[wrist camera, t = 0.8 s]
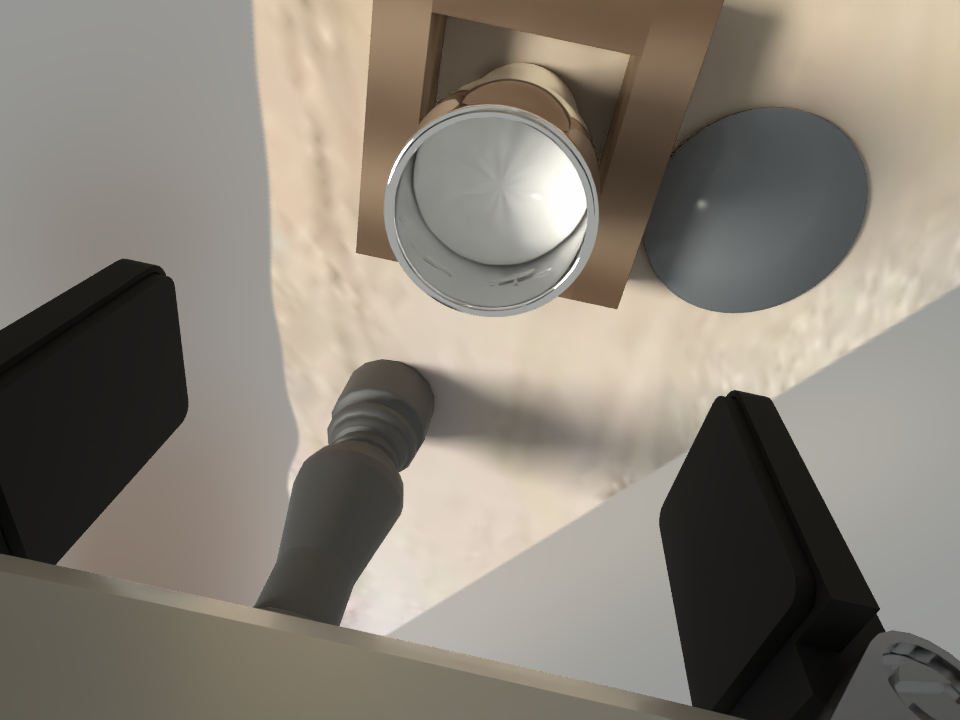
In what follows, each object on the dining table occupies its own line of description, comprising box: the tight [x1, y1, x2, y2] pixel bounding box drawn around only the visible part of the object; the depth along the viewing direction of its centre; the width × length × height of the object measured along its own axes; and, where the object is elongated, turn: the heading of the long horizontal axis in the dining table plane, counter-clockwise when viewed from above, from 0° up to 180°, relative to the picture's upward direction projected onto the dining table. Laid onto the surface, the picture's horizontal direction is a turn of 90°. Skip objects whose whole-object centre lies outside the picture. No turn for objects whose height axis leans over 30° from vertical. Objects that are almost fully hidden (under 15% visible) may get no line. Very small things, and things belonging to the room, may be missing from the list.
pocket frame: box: [356, 0, 724, 309], centre depth 29 cm, size 14×14×4 cm
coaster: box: [643, 107, 867, 313], centre depth 31 cm, size 11×11×1 cm
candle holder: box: [253, 360, 434, 626], centre depth 30 cm, size 6×6×25 cm
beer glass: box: [384, 63, 600, 317], centre depth 24 cm, size 7×7×15 cm
